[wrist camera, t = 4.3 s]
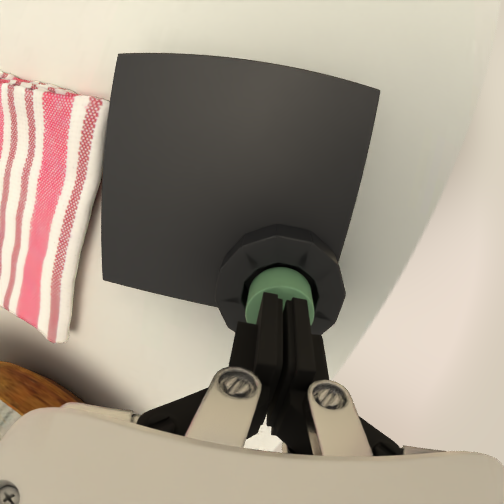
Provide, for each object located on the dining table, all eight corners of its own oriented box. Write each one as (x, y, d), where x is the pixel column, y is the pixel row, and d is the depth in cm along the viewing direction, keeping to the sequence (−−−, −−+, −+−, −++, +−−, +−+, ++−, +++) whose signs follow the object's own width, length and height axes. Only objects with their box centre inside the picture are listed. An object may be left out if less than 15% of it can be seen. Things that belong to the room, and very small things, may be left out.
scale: (375, 95, 13) (401, 88, 10) (317, 316, 18) (322, 355, 15) (134, 59, 13) (101, 47, 10) (117, 275, 18) (89, 304, 15)
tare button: (318, 272, 14) (322, 293, 12) (302, 324, 15) (304, 347, 13) (255, 260, 14) (251, 279, 12) (244, 313, 15) (239, 336, 13)
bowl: (-7, 399, 29) (-33, 434, 22) (-29, 266, 20) (-86, 308, 12) (141, 489, 32) (127, 533, 25) (207, 414, 23) (187, 499, 15)
